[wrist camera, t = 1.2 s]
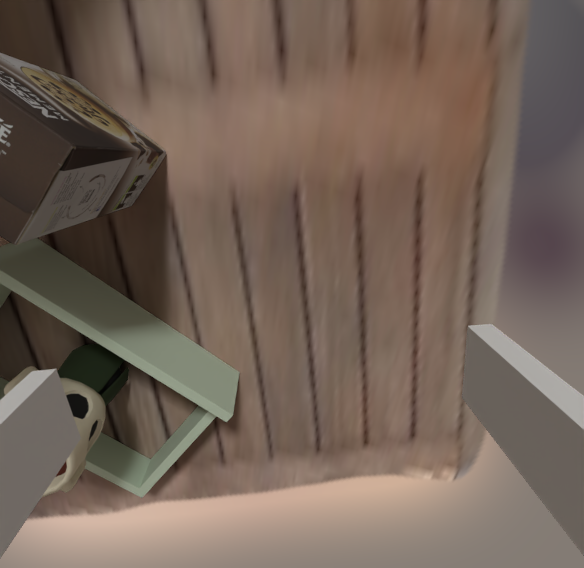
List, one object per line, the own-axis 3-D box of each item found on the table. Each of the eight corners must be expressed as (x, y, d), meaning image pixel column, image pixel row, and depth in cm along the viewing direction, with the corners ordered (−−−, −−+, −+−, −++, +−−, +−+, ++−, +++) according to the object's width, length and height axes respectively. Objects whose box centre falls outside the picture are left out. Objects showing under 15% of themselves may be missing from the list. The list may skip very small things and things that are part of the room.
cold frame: (-47, 360, 38) (-113, 403, 32) (32, 235, 34) (-25, 254, 28) (153, 468, 44) (132, 523, 38) (239, 372, 40) (232, 415, 34)
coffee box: (170, 150, 33) (79, 148, 17) (131, 208, 34) (16, 253, 19) (74, 75, 30) (-125, -2, 15) (37, 141, 32) (-179, 130, 17)
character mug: (150, 400, 41) (98, 506, 29) (88, 414, 41) (11, 524, 29) (113, 313, 37) (36, 392, 25) (46, 328, 38) (-64, 413, 25)
